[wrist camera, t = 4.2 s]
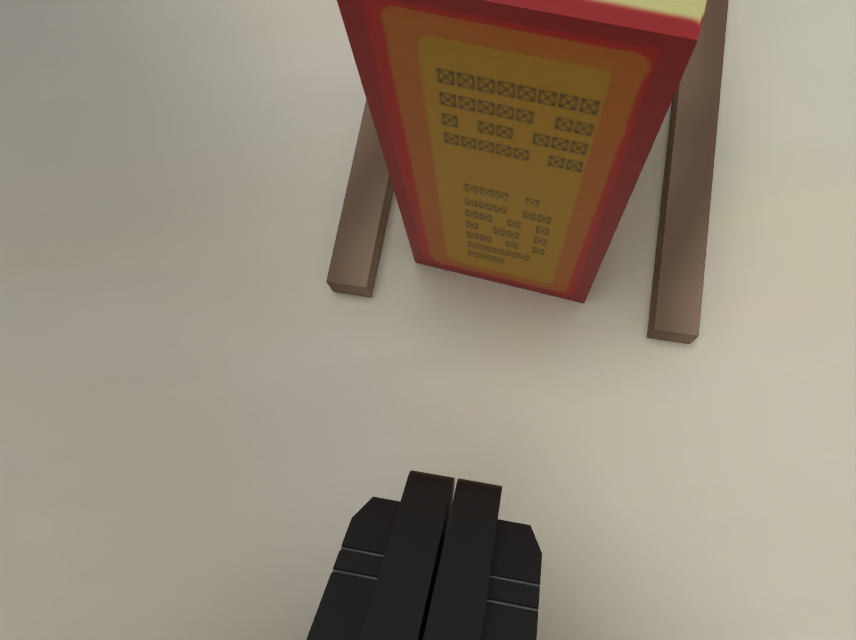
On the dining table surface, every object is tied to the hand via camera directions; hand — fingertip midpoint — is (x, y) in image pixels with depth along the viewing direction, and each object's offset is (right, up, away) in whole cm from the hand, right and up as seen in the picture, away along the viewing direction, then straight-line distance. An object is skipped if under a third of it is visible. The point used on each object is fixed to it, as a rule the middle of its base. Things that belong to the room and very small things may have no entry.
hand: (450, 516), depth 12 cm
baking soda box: (+4, +9, +17) cm, 20 cm away
